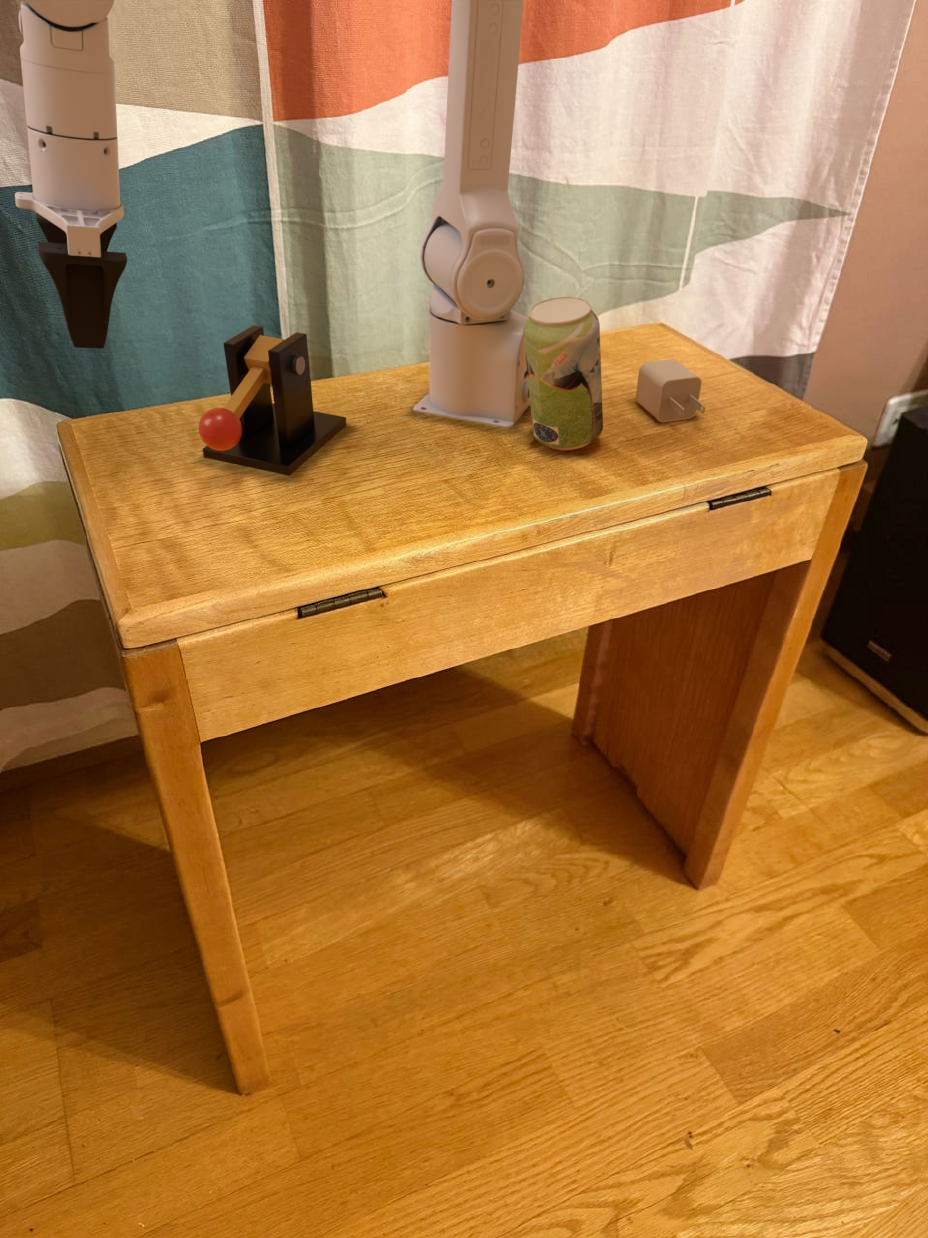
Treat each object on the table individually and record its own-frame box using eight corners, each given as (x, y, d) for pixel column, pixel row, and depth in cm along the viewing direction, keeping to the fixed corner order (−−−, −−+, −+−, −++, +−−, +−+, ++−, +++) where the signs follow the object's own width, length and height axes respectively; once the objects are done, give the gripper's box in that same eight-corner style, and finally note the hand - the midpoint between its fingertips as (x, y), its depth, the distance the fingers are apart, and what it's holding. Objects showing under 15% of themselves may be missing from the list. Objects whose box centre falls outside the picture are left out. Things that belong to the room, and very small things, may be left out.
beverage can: (615, 446, 79) (633, 306, 71) (547, 467, 75) (558, 322, 68) (570, 419, 83) (582, 284, 76) (503, 437, 80) (510, 299, 72)
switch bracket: (289, 480, 73) (277, 368, 67) (204, 461, 75) (185, 352, 70) (347, 429, 80) (339, 324, 75) (267, 414, 83) (255, 311, 77)
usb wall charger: (672, 399, 87) (679, 358, 84) (710, 429, 82) (718, 387, 79) (634, 403, 86) (640, 362, 83) (669, 435, 80) (677, 392, 78)
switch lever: (235, 462, 69) (221, 432, 67) (199, 455, 70) (184, 424, 68) (298, 367, 75) (287, 335, 72) (264, 361, 76) (252, 329, 73)
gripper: (8, 106, 66) (27, 296, 74) (7, 143, 55) (29, 361, 63) (112, 119, 69) (120, 300, 76) (130, 157, 58) (137, 364, 66)
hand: (85, 328), depth 70 cm, fingers open, 7 cm apart
